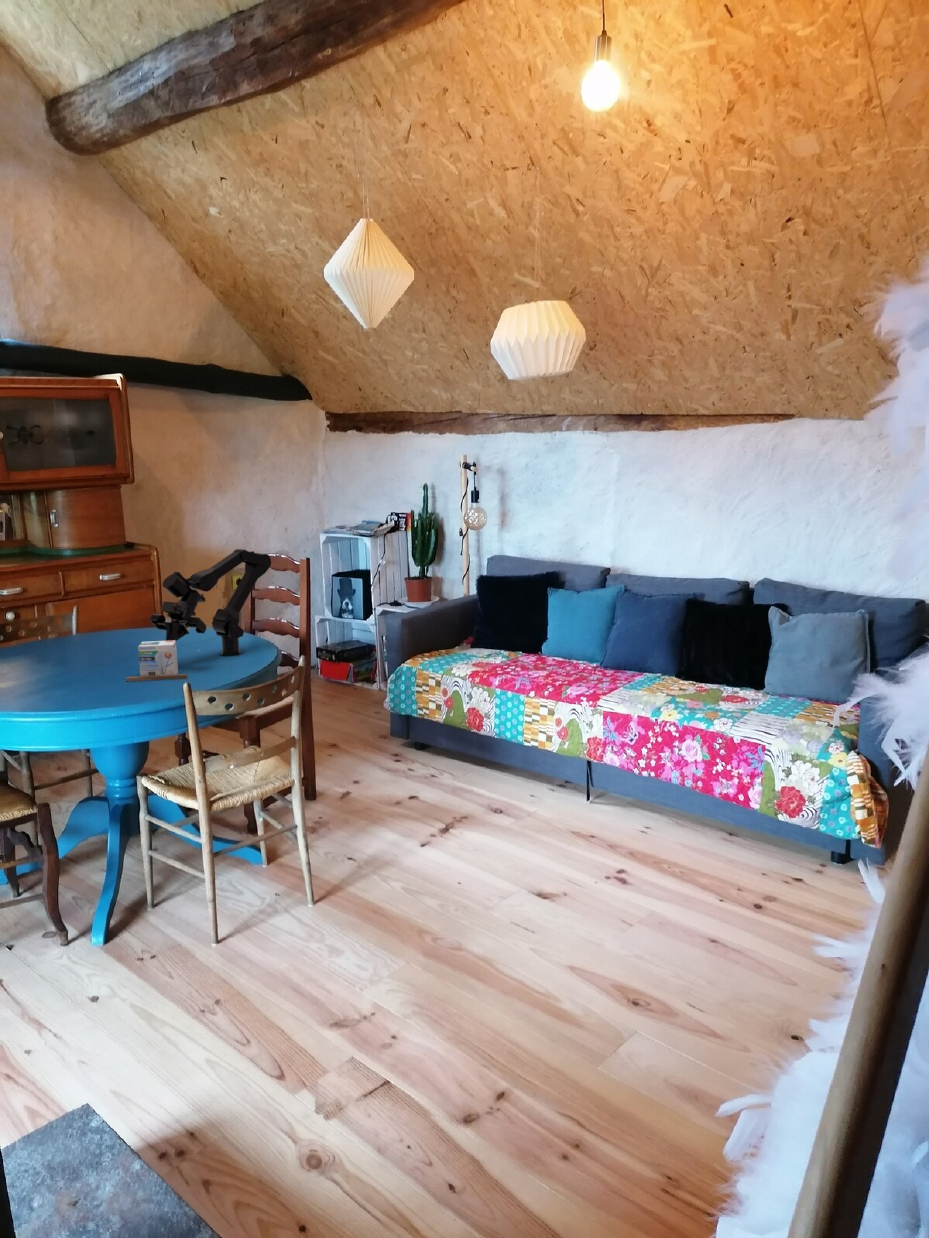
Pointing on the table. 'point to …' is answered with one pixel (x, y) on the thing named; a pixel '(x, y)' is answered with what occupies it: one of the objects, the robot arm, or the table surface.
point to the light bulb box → (158, 658)
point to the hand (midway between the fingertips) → (167, 645)
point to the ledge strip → (157, 677)
